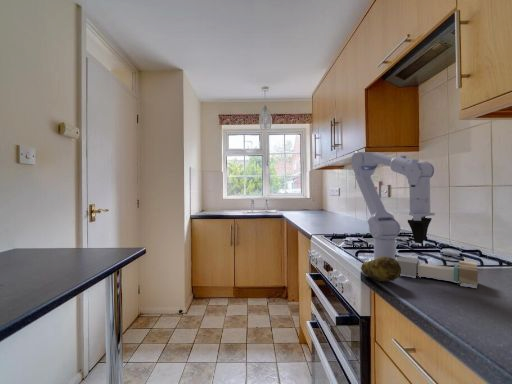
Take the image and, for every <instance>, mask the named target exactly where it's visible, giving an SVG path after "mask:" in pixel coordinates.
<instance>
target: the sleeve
mask: <svg viewBox="0 0 512 384" xmlns="http://www.w3.org/2000/svg"><path fill="white" fill-rule="evenodd" d="M396 258H397V259H396V261H397V262H398V263H399V265H400V267H401V274H405V275H411V276H417V277H418V274H417V272H418V264H419V263H420V261H419V260H420V259H419V258H416V257H408V256H401V255H399V256H397V257H396Z"/></svg>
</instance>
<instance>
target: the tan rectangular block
mask: <svg viewBox="0 0 512 384" xmlns="http://www.w3.org/2000/svg"><path fill="white" fill-rule="evenodd" d="M477 263H478V262H474V261H473V262H472V261H465V260H459V264H458V268H459V283H466V284H472V285H478V284H479V283H478V281H479V280H478V279H479V277H478V273H479V272H478V271H479V267H478V264H477Z"/></svg>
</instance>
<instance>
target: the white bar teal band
mask: <svg viewBox="0 0 512 384" xmlns="http://www.w3.org/2000/svg"><path fill="white" fill-rule="evenodd" d="M418 275H420V276H429V277H437V278H442V279H448V280H454V281H456V282H458V281H459V264H458V263H454V264H453V267H452V266H446V265H439V264H431V263H425V262H419V264H418V274H417V276H418Z"/></svg>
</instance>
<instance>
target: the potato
mask: <svg viewBox="0 0 512 384" xmlns="http://www.w3.org/2000/svg"><path fill="white" fill-rule="evenodd" d="M373 259H374V258H373ZM360 270H361V272H362V273H363V274H364V275H365V276H366V277H368V278H371V277H372V278H371V279H373V278H374V279H373V280H376V281H379V280H380V281H379V282H384V281H386V282H390V281H391V282H394V281H395V280H396V279H397V278H399V277H400V276H399V275H400V274H401V267H400V265H399V263H398V262H397V261H396V260H395V259H393V258H390V257H389V258H388V257H378V258H376V259H374V260H372V259H371V260H368V261H364V262H363V263H362V264H361V265H360Z"/></svg>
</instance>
